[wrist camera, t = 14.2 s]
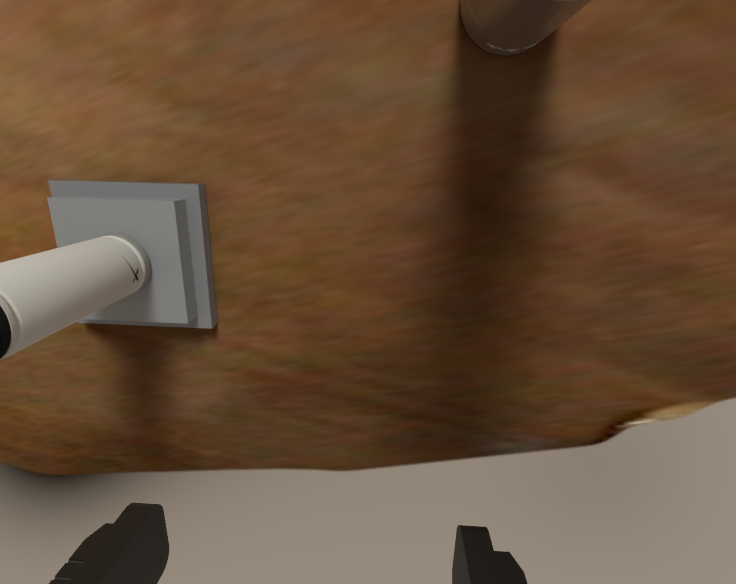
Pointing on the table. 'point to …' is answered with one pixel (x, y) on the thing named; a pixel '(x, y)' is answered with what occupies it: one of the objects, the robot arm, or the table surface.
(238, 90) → the table surface
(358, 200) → the table surface
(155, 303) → the slate plinth
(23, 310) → the travel mug
